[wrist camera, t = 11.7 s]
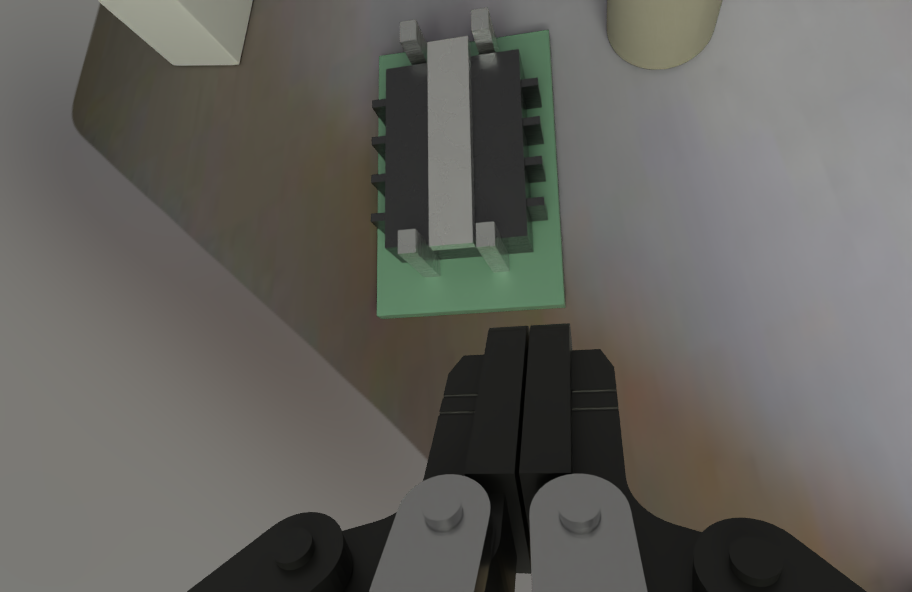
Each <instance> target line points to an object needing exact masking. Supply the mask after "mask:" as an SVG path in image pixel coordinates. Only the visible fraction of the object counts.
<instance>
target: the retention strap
mask: <svg viewBox="0 0 912 592" xmlns="http://www.w3.org/2000/svg"><path fill="white" fill-rule="evenodd" d="M427 64H428V188H429V247H430V248H431V249H432V250H433V251H435V250H447V249H458V248H470V247H476V236H475V197H474V158H473V119H472V81H471V44H470V41H469V38H468V36H463V37H457V38H451V39H444V40H438V41H432V42H427Z"/></svg>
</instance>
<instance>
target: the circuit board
mask: <svg viewBox="0 0 912 592" xmlns="http://www.w3.org/2000/svg"><path fill="white" fill-rule="evenodd" d="M496 40H497V44H498V48H499V51H500V52H502V51H508V50H515V49H519V52H520V57H521V61H522V66H523V71H524V75H525V79H529V78H536V77H538V82H539V88H540V93H541V99H542V107H541V108H534V109H527V117H534V116H540V120H541V125H542V130H543V136H544V144H539V145H531V146H529V157H534V156H542V159H543V163H544V168H545V173H546V182H537V183H530V187H531V198H535V197H544V199H545V203H546V207H547V211H548V220H546V221H535V222H532V229H533V250H534V252H531V253H519V254H509V265H510V271H508V272H495V273H493V271H492V270H491V268H490V267H489V265H488V264H487V262H486V261H485V259H484V258H483V256H482V257H469V258H457V259H445V260H440V267H441V277H429V278H425V277H424V276H423V275H421V274H420V273H419V272H418V271H417V270H416V269H415V268H413V267H412V266H411V265H410V264H409V263H402V262H401V261H399V260H398V259H397V258H396V257H395V256H393V255H392V254H391V253H390V252H389V251H388V250H386V249H385V234H384V233H383V232H382V231H381V230H379V229H378V249H377V316H378V317H380V318H382V319H388V318H404V317H420V316H436V315H453V314H469V313H485V312H501V311H518V310H534V309H550V308H565V291H564V274H563V256H562V239H561V222H560V205H559V188H558V171H557V154H556V137H555V120H554V103H553V86H552V69H551V52H550V37H549V30H543V31H537V32H531V33H524V34H518V35H511V36H505V37H499V38H496ZM470 44H471V56H476V55H479V52H478V49H477V46H476V43H475V41H473V42H470ZM410 65H411V63H410V61H409V59H408V57H407V55H406V53H405V52H403V53H397V54H390V55H384V56H379V100H380V99H386V69H390V68H396V67H403V66H410ZM379 136H386V127H385V125H384V124H383V122H382V121H381V119H380V118H379ZM378 174H385V161H384V159H383V158H382V157H381V156H380V154H379V153H378ZM378 213H385V197H384V196H383V195H382V194H381V193H380V191H379V190H378Z"/></svg>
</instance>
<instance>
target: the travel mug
mask: <svg viewBox="0 0 912 592" xmlns="http://www.w3.org/2000/svg"><path fill="white" fill-rule="evenodd" d="M721 4H722V0H607V35H608V39H609V41H610V44H611V46H612V48H613V49H614V50H615V52H616V53H617V54H618V55H619V56H620V57H621V58H622V59H624V60H625V61H627V62H628V63H630V64H632V65H635V66H637V67H641V68H645V69H667V68H672V67H676V66H678V65H681V64H683V63H685V62H687V61H689V60H691V59H692V58H694V57H695V56H696V55H698V54H699V53H700V52H701V51H702V50H703V49H704V48H705V46H706V45H707V44H708V42H709V41H710V39H711V37H712V34H713V32H714V28H715V25H716V21H717V18H718V14H719V11H720V7H721Z"/></svg>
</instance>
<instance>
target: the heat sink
mask: <svg viewBox="0 0 912 592" xmlns="http://www.w3.org/2000/svg"><path fill="white" fill-rule="evenodd" d="M471 30H472V34H473V37H474V40H475V43H476V46H477V49H478V52H479V55H476V56H471V81H472V119H473V158H474V197H475V236H476V247H470V248H458V249H447V250H435V251H433V250H432V249H431V248H430V247H429V188H428V64H427V43H426V41H425V39H424V36H423V34H422V32H421V30H420V27H419V25H418V23H417V21H416V20H410V21H404V22H400V43H401V45H402V47H403V49H404V51H405V53H406V55H407V57H408V59H409V61H410V63H411V65H410V66H403V67H396V68H390V69H386V99H380V100H373V101H372V108H373V110H374V111H375V112H376V114H377V115H378V117H379V118H380V119H381V121H382V122H383V124H384V125H385V127H386V136H378V137H372V146H373V147H374V148H375V149H376V151H377V152H378V153H379V154H380V156H381V157H382V158H383V159H384V161H385V174H376V175H372V177H371V183H372V184H373V185H374V186H375V187H376V188H377V189H378V190H379V191H380V193H381V194H382V195H383V196H384V197H385V213H375V214H371V222H372V223H373V224H374V225H375V226H376V227H377V228H378V229H379V230H381V231H382V232H383V233H384V234H385V249H386V250H388V251H389V252H390V253H391V254H392V255H393V256H395V257H396V258H397V259H398V260H399V261H401V262H402V263H409V264H410V265H411V266H412V267H413V268H415V269H416V270H417V271H418V272H419V273H420V274H421V275H423V276H424V277H425V278H429V277H441V267H440V260H445V259H457V258H469V257H482V256H483V258H484V259H485V261H486V262H487V264H488V265H489V267H490V268H491V270H492V271H493V273H495V272H508V271H510V265H509V254H519V253H531V252H534V250H533V229H532V222H535V221H546V220H548V211H547V207H546V203H545V199H544V197H535V198H531V187H530V183H537V182H546V173H545V168H544V163H543V159H542V156H534V157H529V146H531V145H539V144H544V136H543V130H542V125H541V120H540V116H534V117H527V109H534V108H541V107H542V99H541V93H540V88H539V82H538V77H536V78H529V79H525V75H524V71H523V66H522V61H521V57H520V52H519V49H515V50H508V51H502V52H500V51H499V48H498V44H497V40H496V36H495V32H494V29H493V25H492V21H491V17H490V14H489V10H488V7H487V8H481V9H475V10H471Z"/></svg>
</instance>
